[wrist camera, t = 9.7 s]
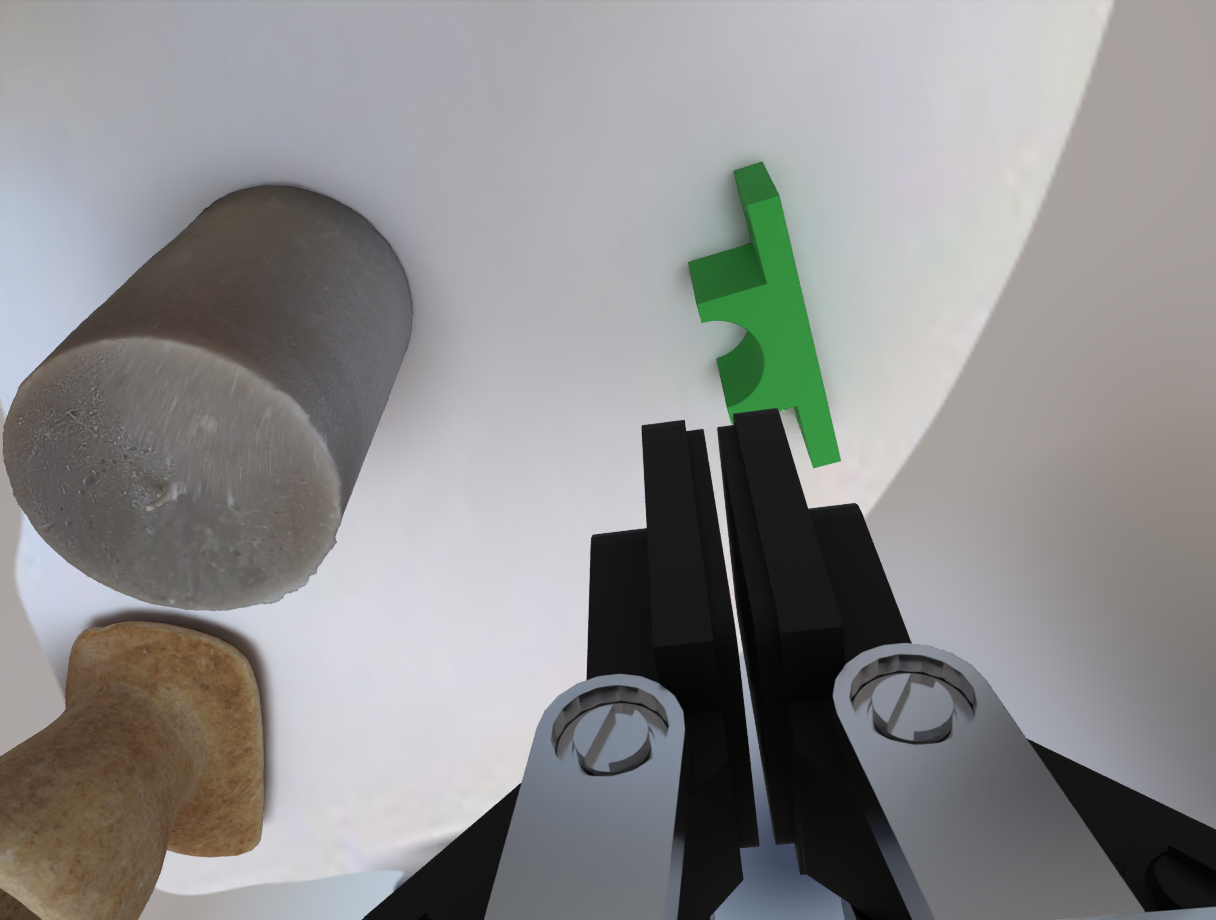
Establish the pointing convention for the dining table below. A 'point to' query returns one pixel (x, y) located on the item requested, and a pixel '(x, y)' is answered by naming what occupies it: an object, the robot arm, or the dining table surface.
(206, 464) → the pillar candle
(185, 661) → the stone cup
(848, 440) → the dining table surface
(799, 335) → the pipe clamp
